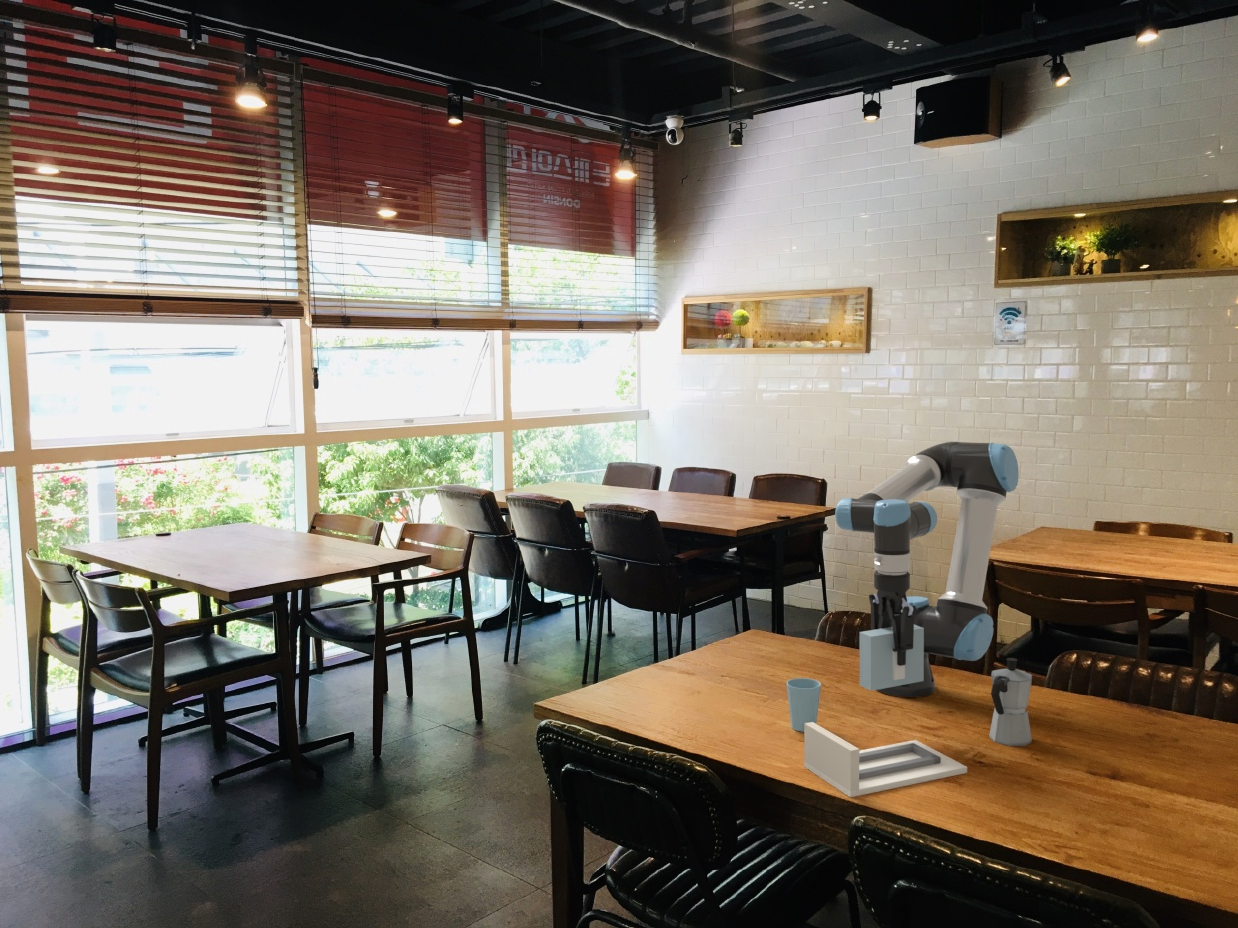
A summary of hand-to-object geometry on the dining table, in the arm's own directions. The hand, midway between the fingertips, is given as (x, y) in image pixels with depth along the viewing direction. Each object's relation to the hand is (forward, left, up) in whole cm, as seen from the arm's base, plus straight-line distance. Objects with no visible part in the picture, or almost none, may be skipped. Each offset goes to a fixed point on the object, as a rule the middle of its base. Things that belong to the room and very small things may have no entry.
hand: (891, 675), depth 219 cm
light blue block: (0, 0, -2) cm, 2 cm away
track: (+12, +14, -14) cm, 23 cm away
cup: (+14, -13, -14) cm, 24 cm away
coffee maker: (-22, +12, -14) cm, 29 cm away
